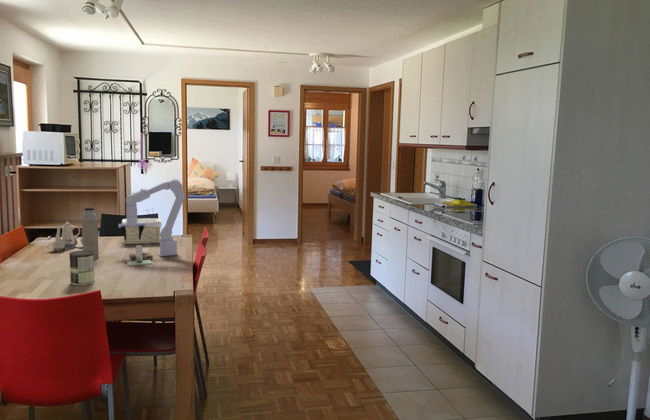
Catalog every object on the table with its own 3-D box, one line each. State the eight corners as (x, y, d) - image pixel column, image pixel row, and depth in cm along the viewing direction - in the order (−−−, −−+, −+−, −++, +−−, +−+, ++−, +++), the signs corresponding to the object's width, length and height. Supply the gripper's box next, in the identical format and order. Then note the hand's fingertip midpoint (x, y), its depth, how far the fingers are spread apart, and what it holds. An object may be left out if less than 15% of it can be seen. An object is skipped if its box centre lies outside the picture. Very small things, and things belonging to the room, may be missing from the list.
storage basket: (160, 239, 357) (160, 217, 355) (162, 243, 342) (161, 221, 340) (122, 240, 349) (122, 218, 347) (122, 245, 334) (121, 222, 332)
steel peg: (141, 261, 289) (141, 244, 288) (143, 262, 287) (142, 245, 285) (135, 261, 287) (135, 245, 286) (137, 262, 285) (136, 246, 283)
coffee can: (66, 285, 241) (65, 254, 239) (75, 279, 251) (74, 250, 249) (90, 285, 242) (89, 255, 240) (97, 279, 252) (96, 250, 250)
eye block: (149, 256, 304) (149, 251, 304) (152, 260, 294) (152, 255, 294) (129, 257, 299) (129, 253, 299) (131, 261, 290) (131, 257, 289)
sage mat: (150, 260, 293) (149, 259, 293) (152, 264, 285) (152, 262, 285) (126, 262, 288) (126, 261, 288) (128, 265, 280) (128, 264, 280)
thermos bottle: (90, 255, 302) (88, 207, 298) (101, 257, 299) (100, 207, 296) (79, 258, 294) (77, 208, 291) (91, 260, 292) (89, 209, 288)
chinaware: (55, 256, 307) (55, 228, 304) (39, 249, 316) (39, 222, 313) (99, 248, 330) (99, 222, 327) (83, 242, 339) (83, 217, 336)
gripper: (144, 214, 309) (144, 237, 310) (117, 215, 302) (118, 239, 304) (146, 216, 302) (146, 239, 304) (118, 217, 296) (119, 241, 298)
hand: (132, 239), depth 304 cm, fingers open, 7 cm apart
